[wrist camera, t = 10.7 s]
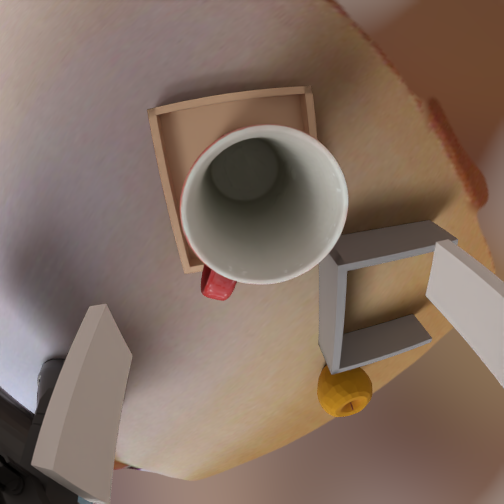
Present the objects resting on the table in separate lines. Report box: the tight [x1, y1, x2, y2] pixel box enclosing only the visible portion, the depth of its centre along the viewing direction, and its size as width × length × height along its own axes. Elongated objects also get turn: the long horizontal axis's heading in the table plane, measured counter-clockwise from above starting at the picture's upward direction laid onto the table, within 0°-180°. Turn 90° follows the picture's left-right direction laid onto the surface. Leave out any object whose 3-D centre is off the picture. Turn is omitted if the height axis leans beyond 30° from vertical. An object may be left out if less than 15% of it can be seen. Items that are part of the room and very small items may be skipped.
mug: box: [180, 124, 349, 301], centre depth 22 cm, size 13×9×14 cm
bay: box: [319, 220, 458, 375], centre depth 34 cm, size 16×17×6 cm
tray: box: [147, 86, 317, 274], centre depth 27 cm, size 14×16×2 cm
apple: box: [317, 365, 372, 417], centre depth 40 cm, size 8×8×9 cm
